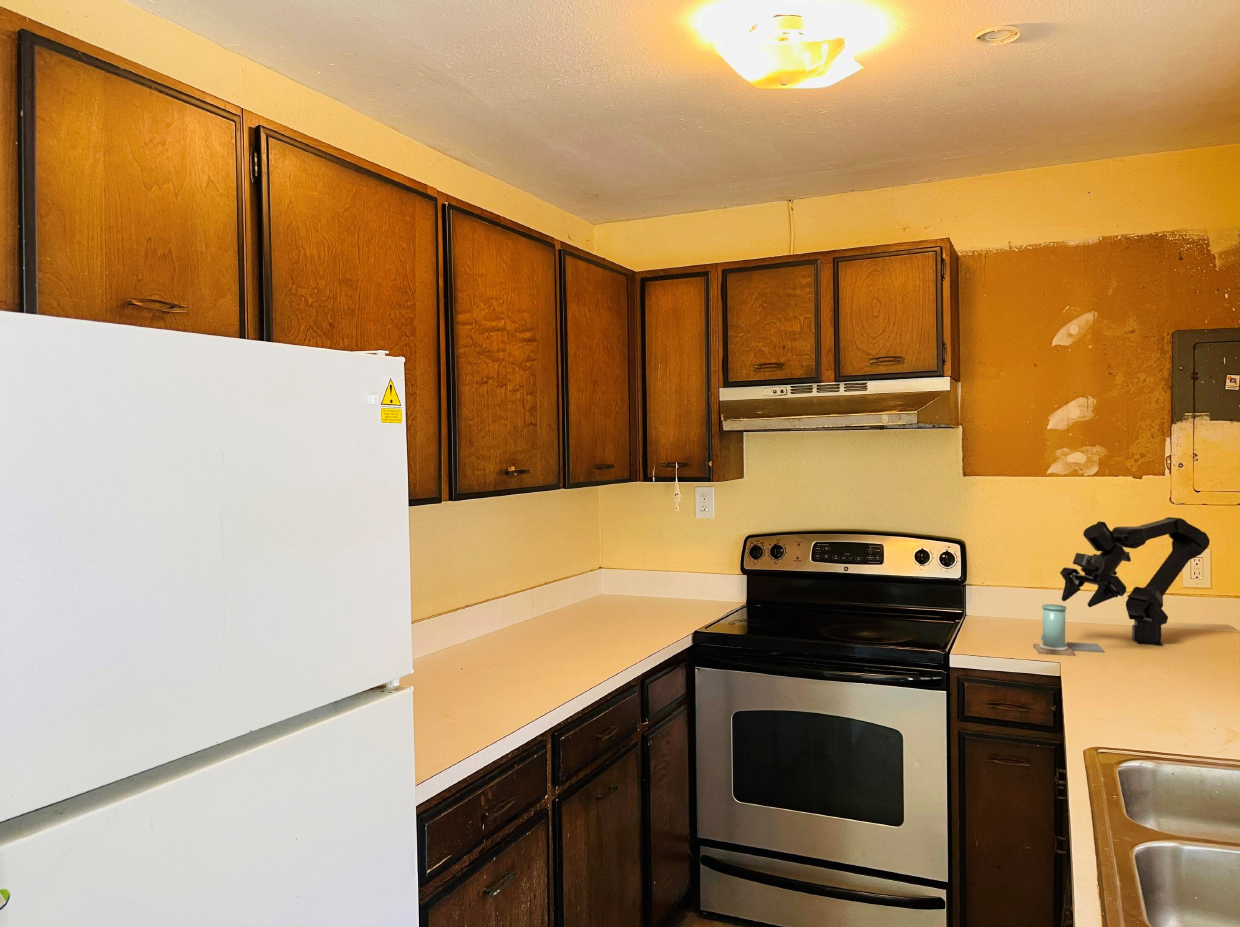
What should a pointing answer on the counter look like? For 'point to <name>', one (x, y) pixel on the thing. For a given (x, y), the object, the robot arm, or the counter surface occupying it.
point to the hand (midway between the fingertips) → (1075, 603)
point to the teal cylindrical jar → (1053, 626)
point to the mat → (1085, 647)
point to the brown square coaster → (1054, 650)
